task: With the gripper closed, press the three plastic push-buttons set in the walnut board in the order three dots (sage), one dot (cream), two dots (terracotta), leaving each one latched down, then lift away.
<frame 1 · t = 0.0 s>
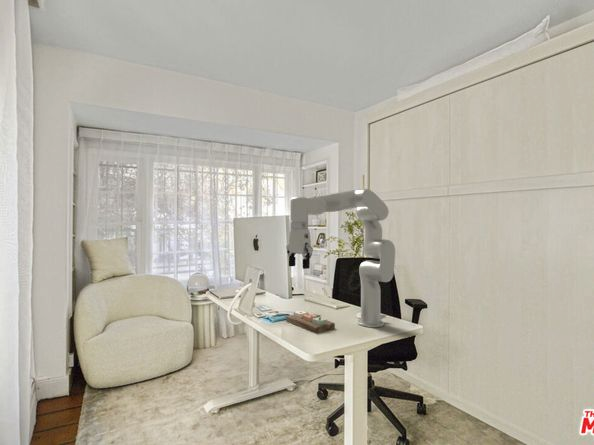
hand: (298, 267, 138), 31 cm above the table, tool pointing down, fingers open, 9 cm apart
button one dot: (300, 315, 168), point 3 cm above the table, slide at 0.0 cm
button two dots: (309, 318, 162), point 3 cm above the table, slide at 0.0 cm
button three dots: (319, 322, 156), point 3 cm above the table, slide at 0.0 cm
button board: (309, 324, 162), on the table
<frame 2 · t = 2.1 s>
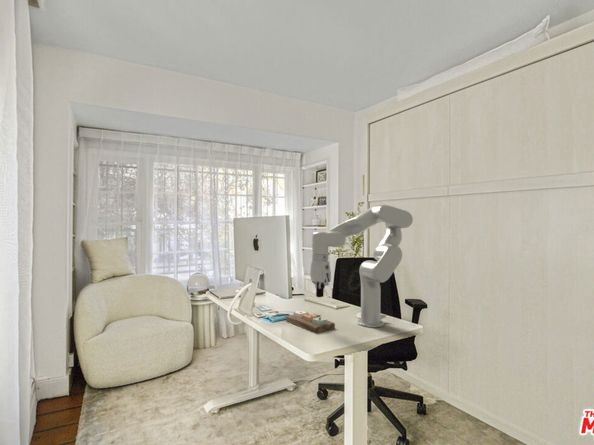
hand: (319, 296, 156), 15 cm above the table, tool pointing down, fingers closed
nothing on the table moved.
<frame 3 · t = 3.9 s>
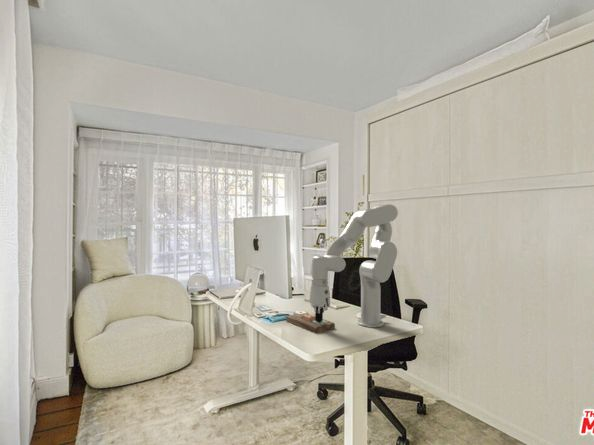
hand: (318, 321, 156), 4 cm above the table, tool pointing down, fingers closed
button three dots: (319, 324, 156), point 2 cm above the table, slide at 1.1 cm, touching gripper
everything else where it was.
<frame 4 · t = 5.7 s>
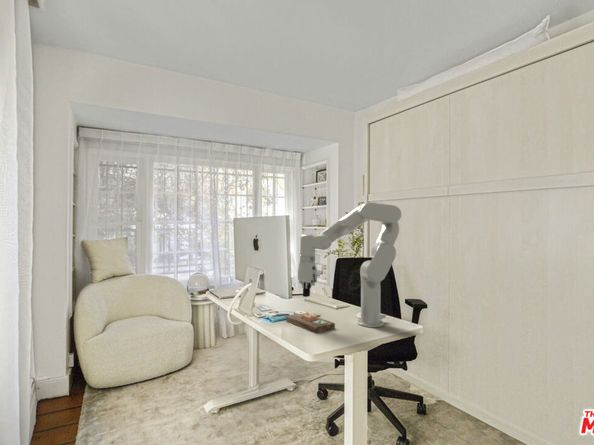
hand: (306, 296, 163), 14 cm above the table, tool pointing down, fingers closed
button three dots: (319, 325, 156), point 2 cm above the table, slide at 1.4 cm
everything else where it was.
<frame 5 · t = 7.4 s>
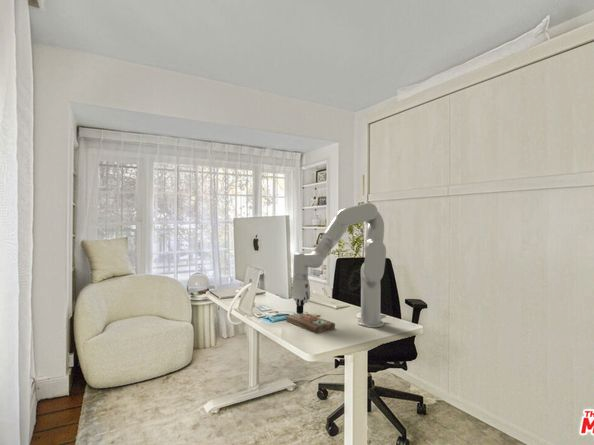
hand: (299, 312, 168), 4 cm above the table, tool pointing down, fingers closed
button one dot: (300, 316, 168), point 3 cm above the table, slide at 0.5 cm, touching gripper
everything else where it was.
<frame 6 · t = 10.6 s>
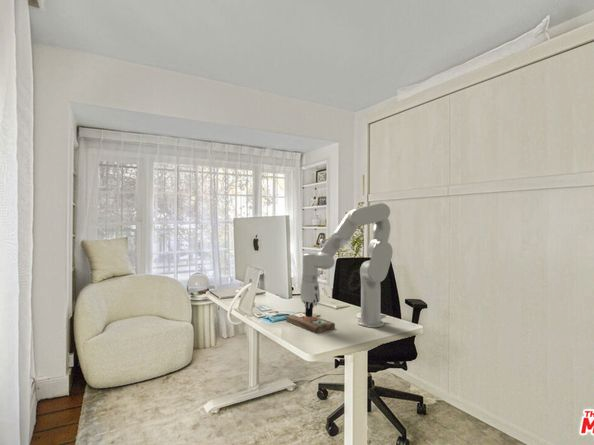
hand: (308, 315, 162), 4 cm above the table, tool pointing down, fingers closed
button one dot: (300, 317, 168), point 2 cm above the table, slide at 1.4 cm
button two dots: (309, 319, 162), point 3 cm above the table, slide at 0.3 cm, touching gripper
everything else where it was.
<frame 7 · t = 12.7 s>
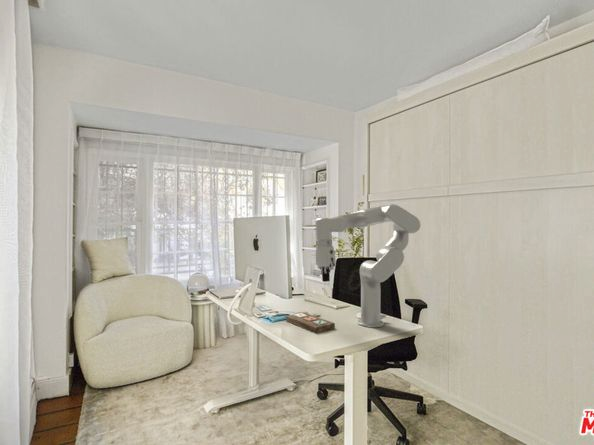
hand: (326, 281, 160), 22 cm above the table, tool pointing down, fingers closed
button two dots: (309, 321, 162), point 2 cm above the table, slide at 1.4 cm
everything else where it was.
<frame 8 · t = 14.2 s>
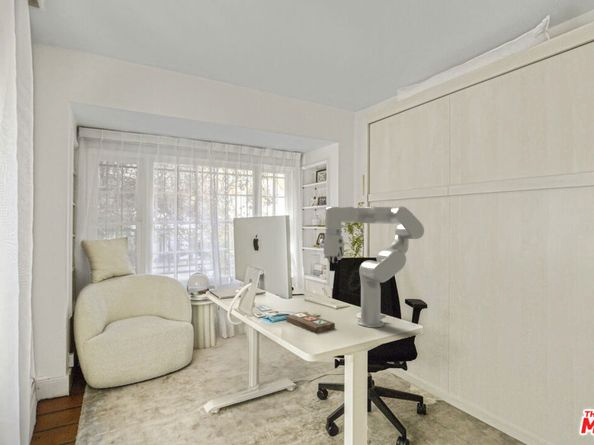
hand: (333, 270, 158), 27 cm above the table, tool pointing down, fingers closed
nothing on the table moved.
at the end: button three dots slide at 1.4 cm; button one dot slide at 1.4 cm; button two dots slide at 1.4 cm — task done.
